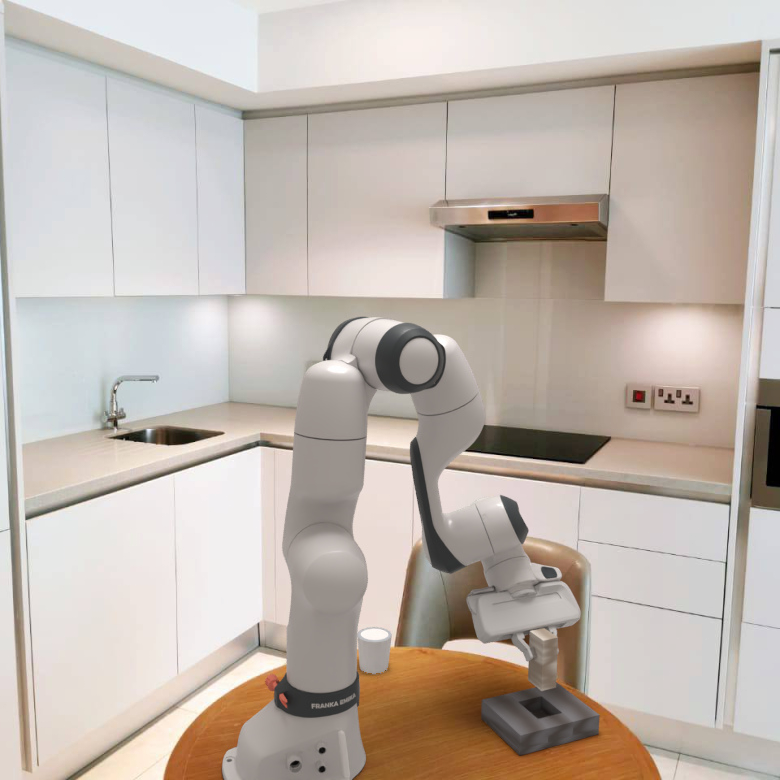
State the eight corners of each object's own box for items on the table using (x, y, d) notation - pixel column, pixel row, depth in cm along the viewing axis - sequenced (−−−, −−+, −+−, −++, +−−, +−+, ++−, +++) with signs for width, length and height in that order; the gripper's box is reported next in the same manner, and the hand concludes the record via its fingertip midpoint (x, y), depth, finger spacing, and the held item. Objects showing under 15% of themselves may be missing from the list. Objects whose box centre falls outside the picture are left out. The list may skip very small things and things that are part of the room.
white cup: (390, 659, 159) (391, 626, 158) (391, 675, 152) (392, 641, 151) (356, 659, 159) (357, 626, 158) (356, 675, 152) (357, 641, 151)
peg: (541, 691, 132) (543, 640, 131) (527, 680, 136) (529, 631, 134) (556, 687, 133) (558, 637, 132) (542, 676, 137) (544, 628, 136)
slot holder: (519, 755, 127) (520, 735, 126) (481, 718, 137) (481, 699, 137) (598, 734, 133) (599, 714, 133) (555, 700, 144) (556, 682, 144)
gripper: (469, 583, 135) (498, 662, 127) (566, 567, 143) (599, 639, 135) (456, 599, 139) (483, 675, 132) (551, 582, 148) (582, 653, 140)
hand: (543, 657), depth 134 cm, fingers closed on peg, 3 cm apart
